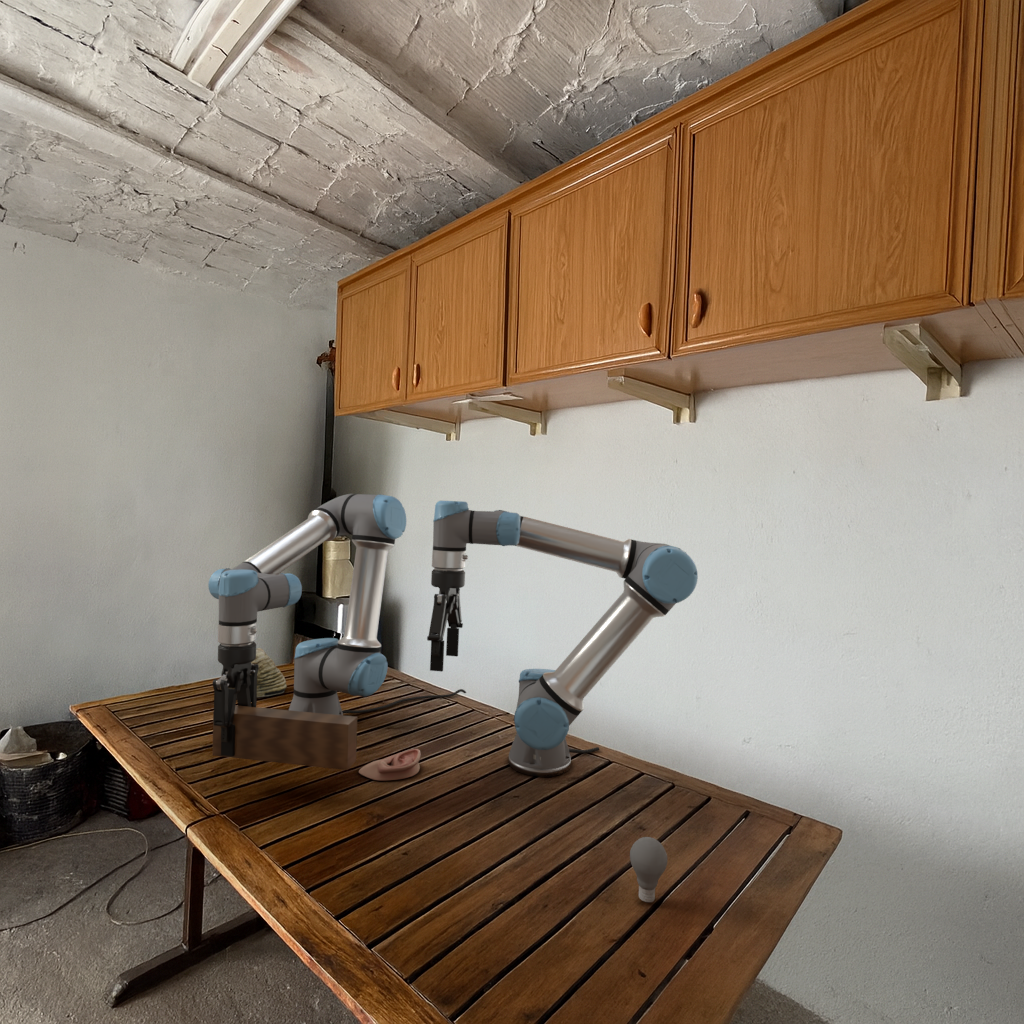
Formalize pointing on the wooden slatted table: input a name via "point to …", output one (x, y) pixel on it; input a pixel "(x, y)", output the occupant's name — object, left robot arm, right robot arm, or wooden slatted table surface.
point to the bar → (292, 737)
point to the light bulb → (648, 865)
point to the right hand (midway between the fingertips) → (444, 663)
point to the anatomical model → (393, 766)
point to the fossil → (268, 676)
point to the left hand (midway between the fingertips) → (235, 749)
